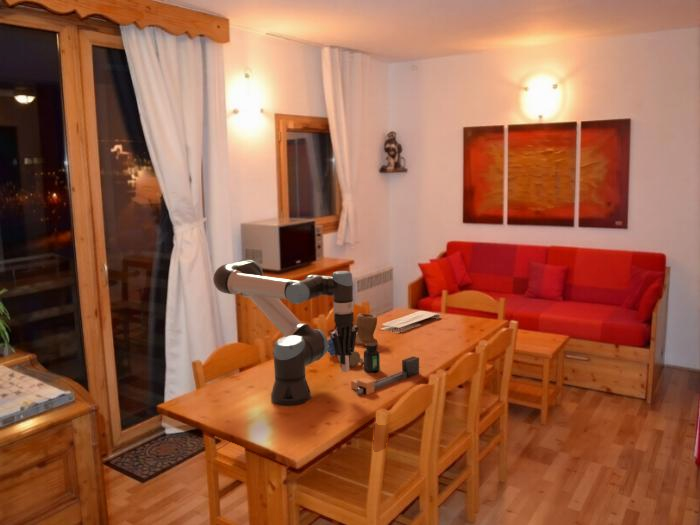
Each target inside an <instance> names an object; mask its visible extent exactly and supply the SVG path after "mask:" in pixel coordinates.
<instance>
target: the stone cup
mask: <svg viewBox="0 0 700 525" xmlns="http://www.w3.org/2000/svg"><path fill="white" fill-rule="evenodd" d="M377 324H378V317H377V315H375V314H370V313H363V312H362V313H358V314H357V316H356V319H355V325H356V326H355V327H358V331H357V333H356V340H355V345H363V346H366V344H367V343H376V344H377V343H378V340H377V339H376V338H375V337H374V334H375V330H376V328H377Z"/></svg>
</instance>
